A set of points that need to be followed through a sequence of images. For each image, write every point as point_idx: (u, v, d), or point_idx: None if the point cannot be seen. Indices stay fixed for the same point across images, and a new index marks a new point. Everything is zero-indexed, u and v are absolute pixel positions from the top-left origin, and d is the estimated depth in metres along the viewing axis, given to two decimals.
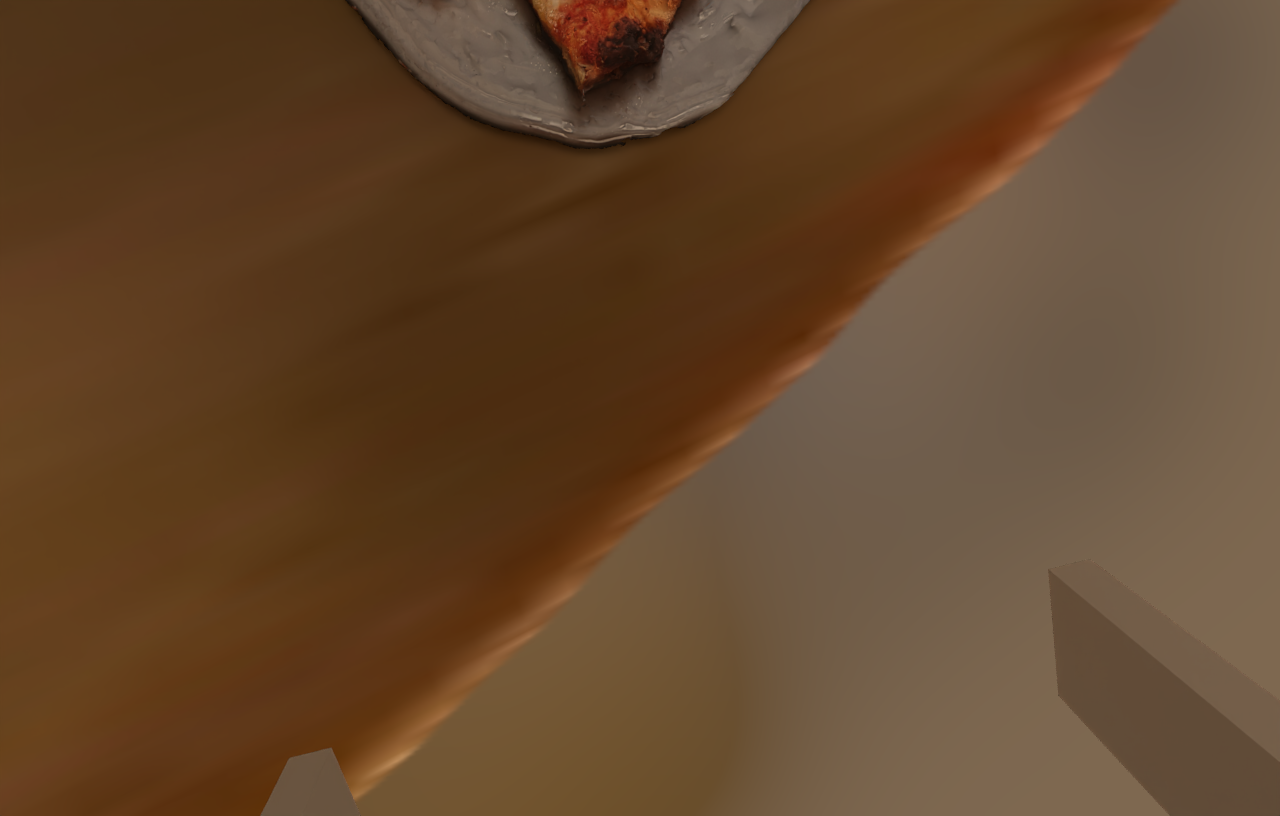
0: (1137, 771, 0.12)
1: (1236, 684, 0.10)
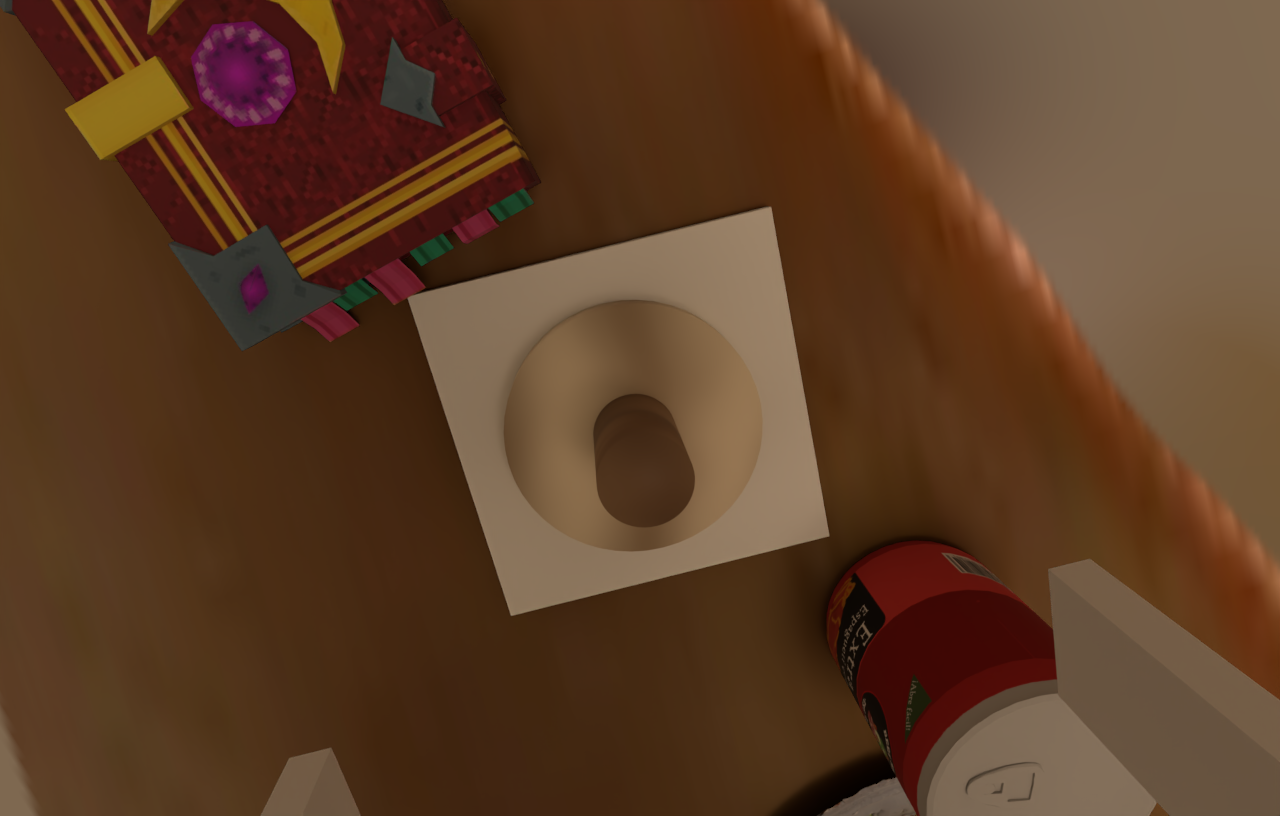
0: (1137, 771, 0.12)
1: (1237, 684, 0.10)
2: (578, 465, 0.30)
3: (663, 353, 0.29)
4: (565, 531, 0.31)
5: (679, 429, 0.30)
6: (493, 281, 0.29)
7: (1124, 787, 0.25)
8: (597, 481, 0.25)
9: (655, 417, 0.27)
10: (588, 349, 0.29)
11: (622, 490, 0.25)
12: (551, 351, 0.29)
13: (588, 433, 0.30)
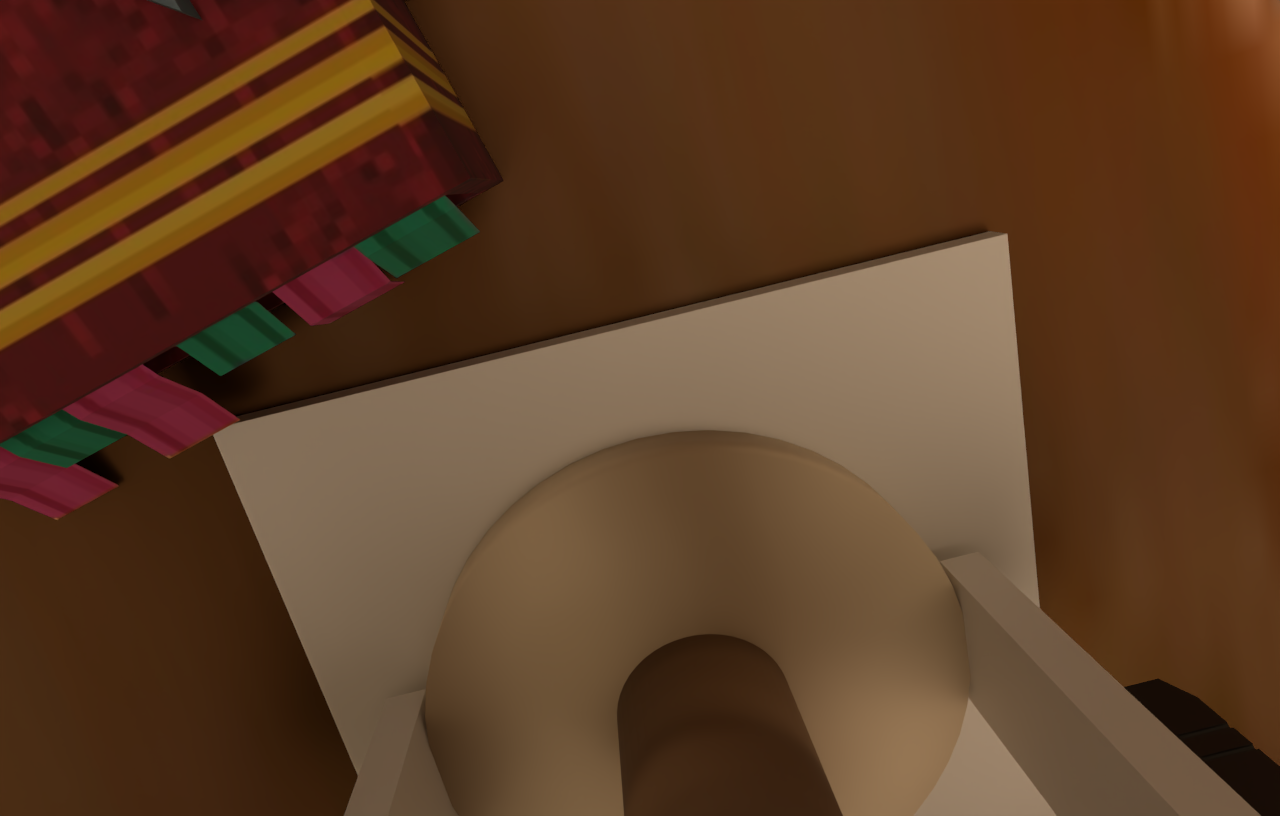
0: (1011, 747, 0.13)
1: (1080, 664, 0.11)
2: (585, 773, 0.14)
3: (771, 553, 0.13)
4: None
5: (798, 700, 0.14)
6: (400, 395, 0.13)
7: None
8: None
9: (773, 749, 0.11)
10: (608, 548, 0.13)
11: None
12: (526, 553, 0.13)
13: (606, 713, 0.14)
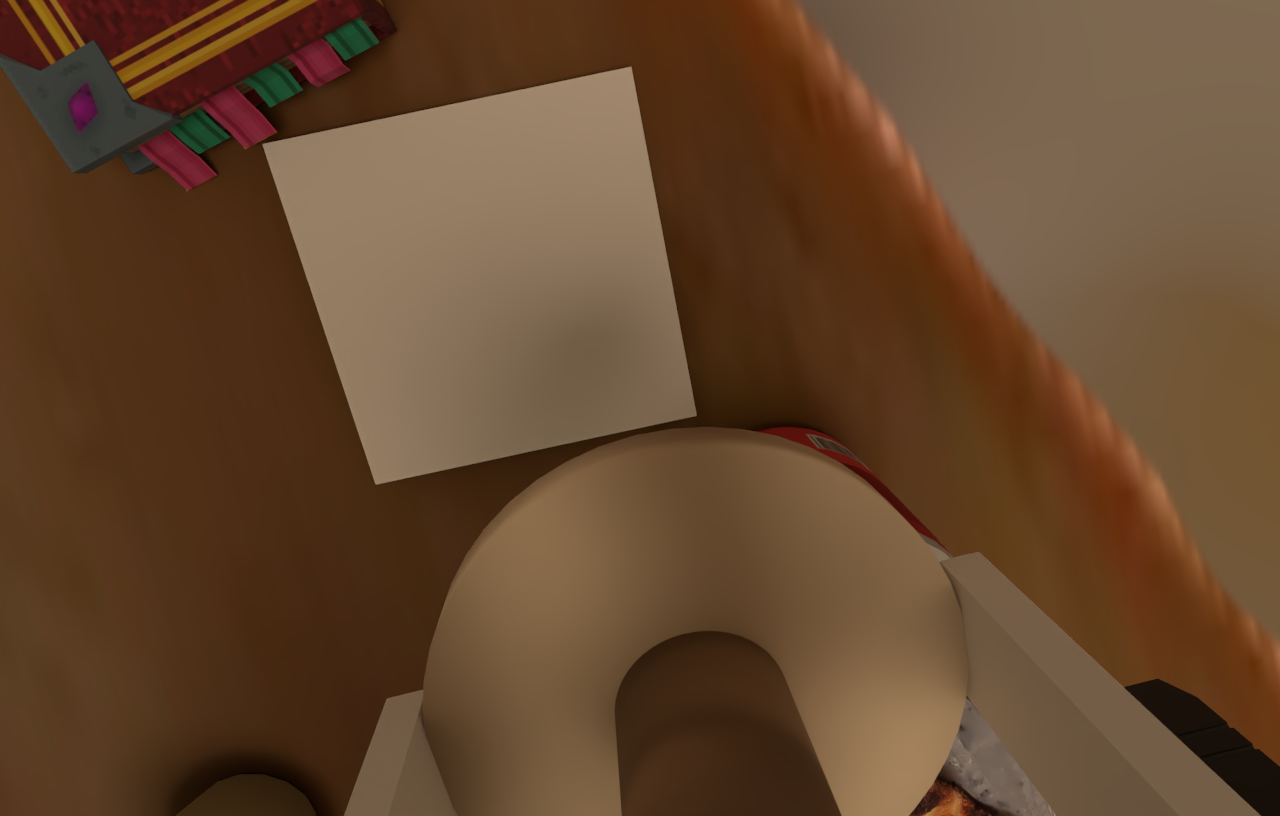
0: (1011, 747, 0.13)
1: (1080, 664, 0.11)
2: (583, 770, 0.14)
3: (769, 549, 0.13)
4: None
5: (796, 697, 0.14)
6: (350, 132, 0.29)
7: None
8: None
9: (770, 745, 0.11)
10: (605, 544, 0.13)
11: None
12: (524, 550, 0.13)
13: (604, 709, 0.14)
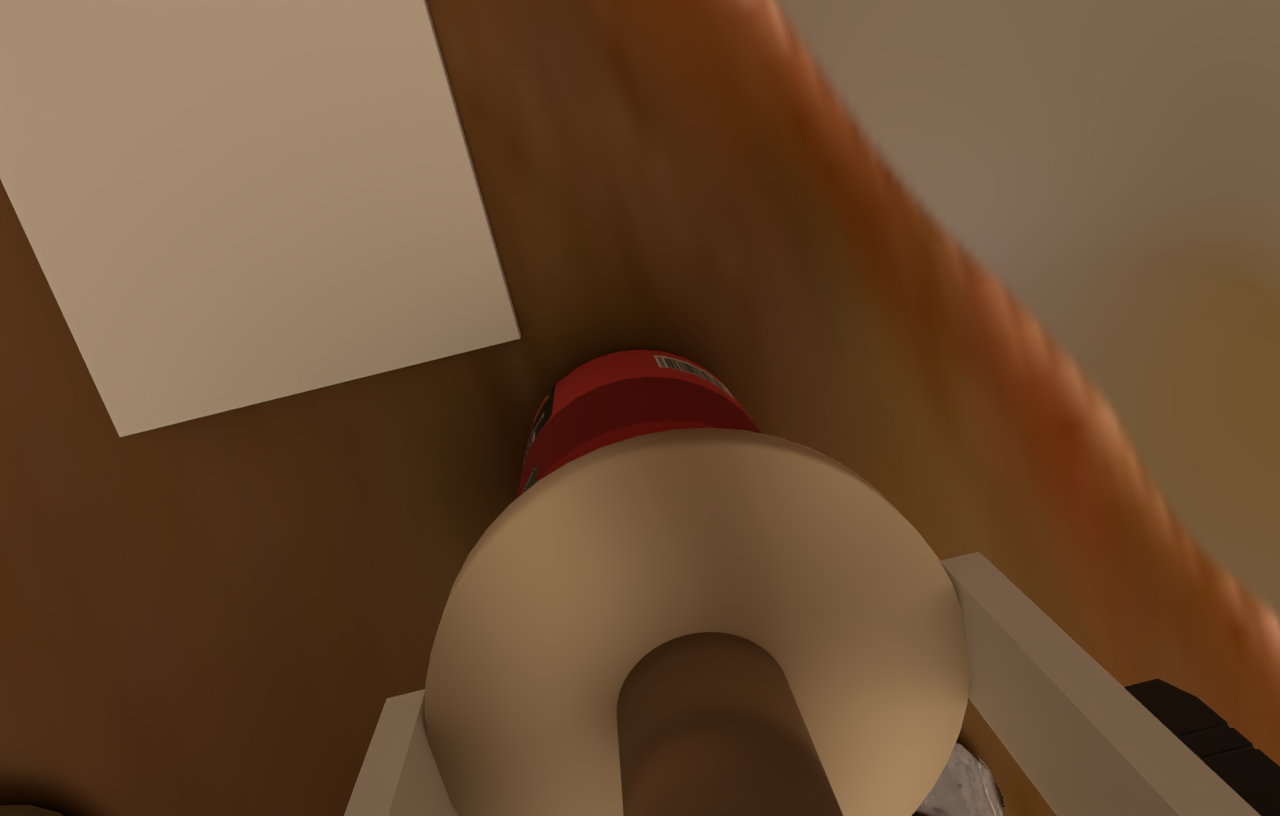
0: (1011, 747, 0.13)
1: (1080, 664, 0.11)
2: (585, 771, 0.14)
3: (771, 550, 0.13)
4: None
5: (797, 698, 0.14)
6: None
7: None
8: None
9: (772, 746, 0.11)
10: (607, 545, 0.13)
11: None
12: (526, 551, 0.13)
13: (606, 710, 0.14)
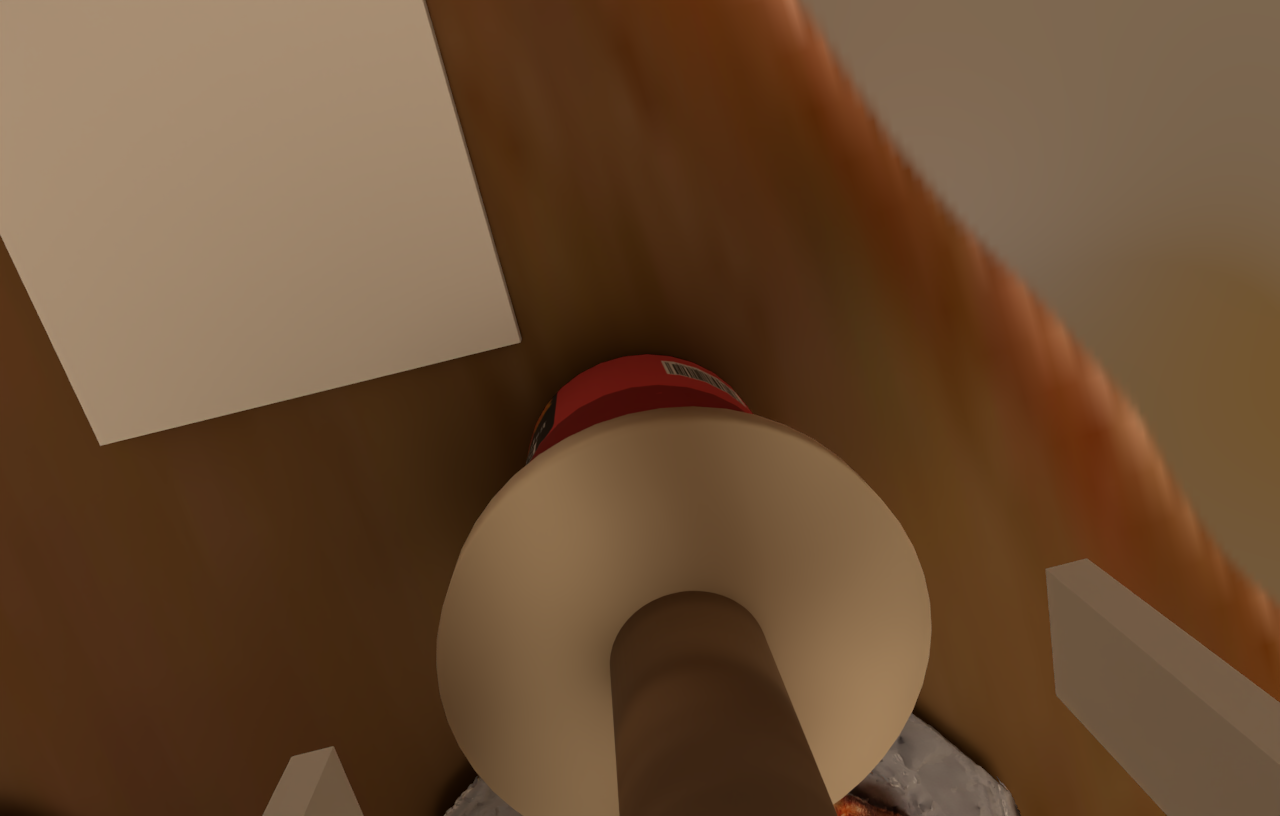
0: (1134, 770, 0.12)
1: (1232, 684, 0.10)
2: (581, 719, 0.16)
3: (749, 516, 0.15)
4: None
5: (774, 652, 0.16)
6: None
7: None
8: None
9: (746, 684, 0.12)
10: (601, 511, 0.14)
11: None
12: (527, 516, 0.14)
13: (600, 663, 0.15)
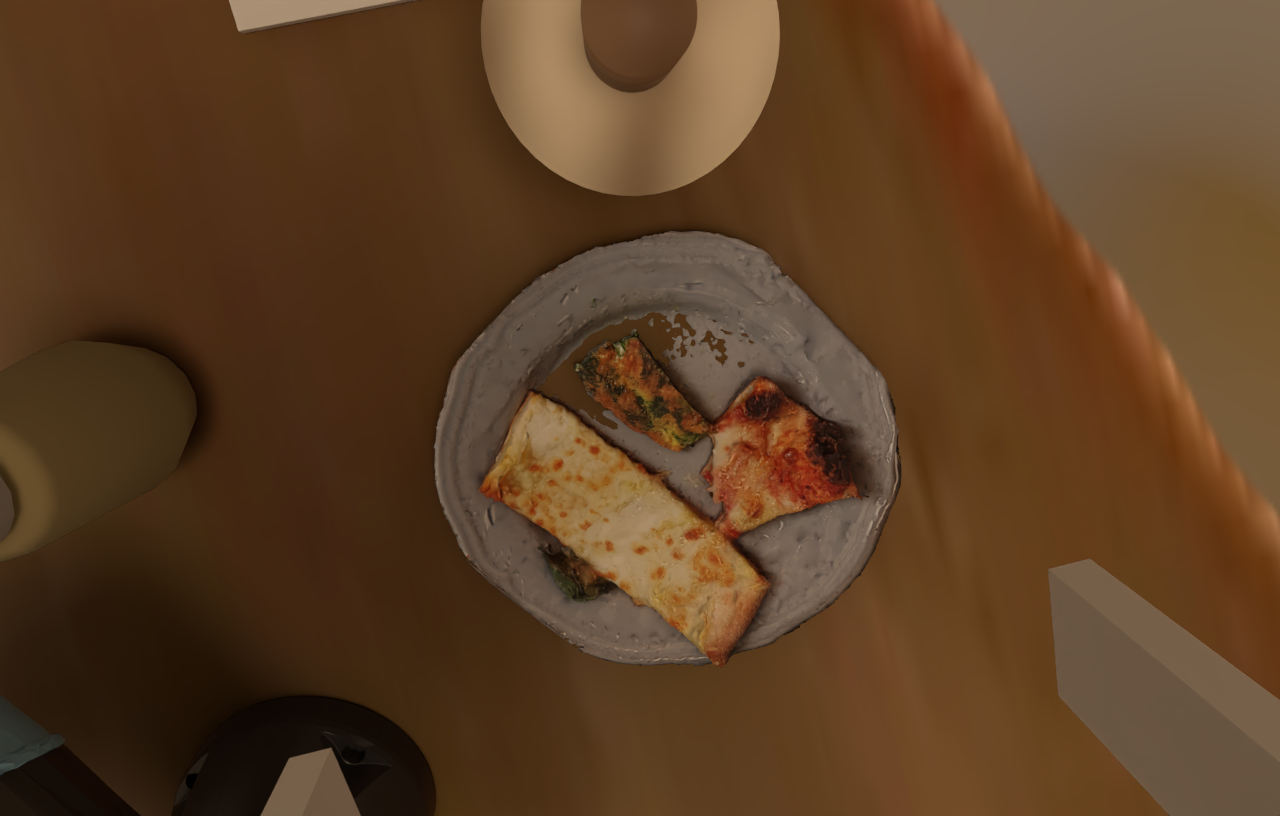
0: (1137, 771, 0.12)
1: (1236, 684, 0.10)
2: (565, 77, 0.26)
3: None
4: (546, 162, 0.27)
5: None
6: None
7: None
8: (581, 6, 0.21)
9: None
10: None
11: (610, 22, 0.21)
12: None
13: (578, 35, 0.26)
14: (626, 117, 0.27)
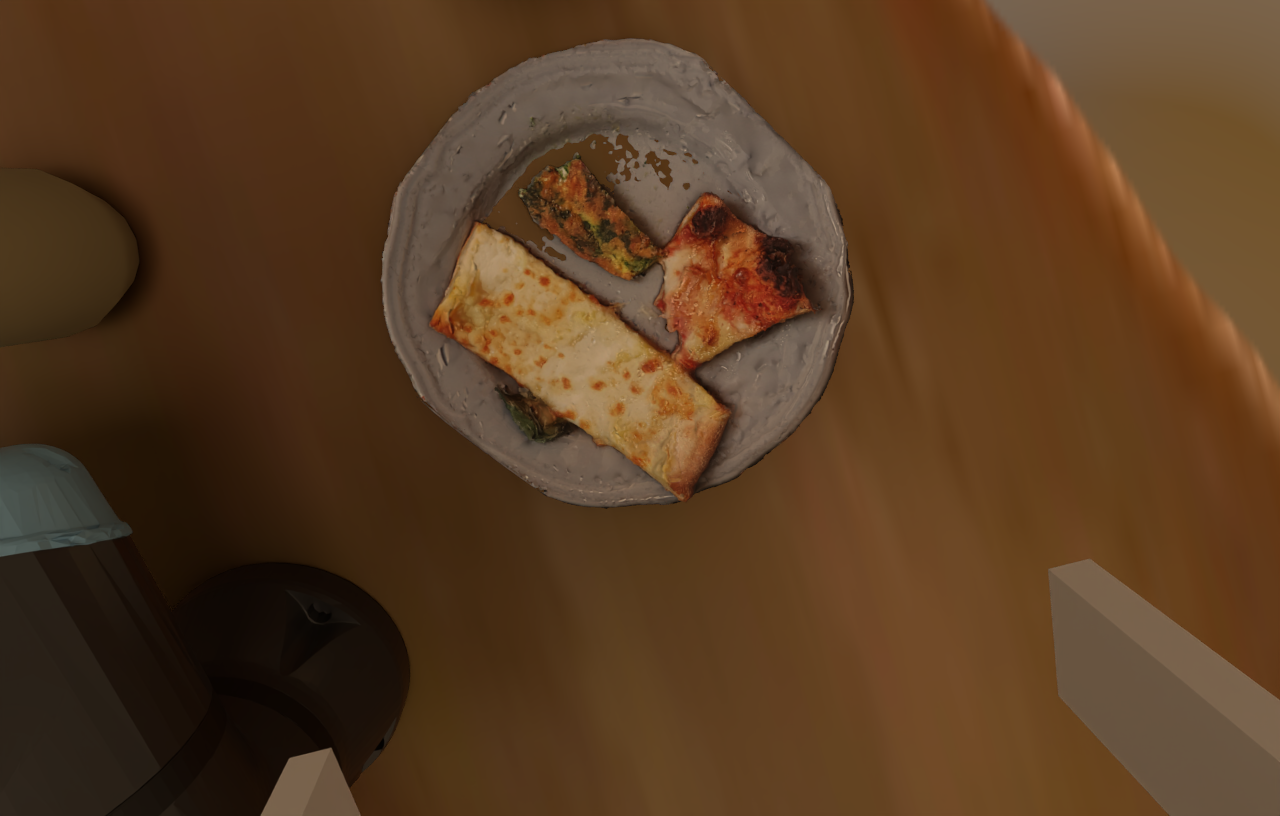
0: (1137, 771, 0.12)
1: (1236, 684, 0.10)
2: None
3: None
4: None
5: None
6: None
7: None
8: None
9: None
10: None
11: None
12: None
13: None
14: None
